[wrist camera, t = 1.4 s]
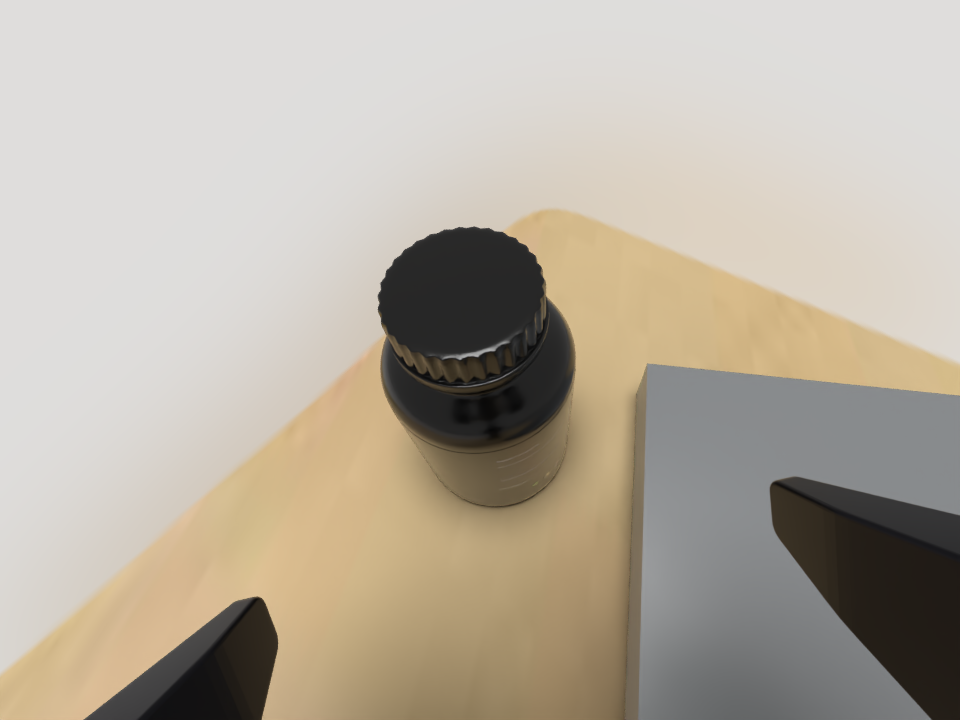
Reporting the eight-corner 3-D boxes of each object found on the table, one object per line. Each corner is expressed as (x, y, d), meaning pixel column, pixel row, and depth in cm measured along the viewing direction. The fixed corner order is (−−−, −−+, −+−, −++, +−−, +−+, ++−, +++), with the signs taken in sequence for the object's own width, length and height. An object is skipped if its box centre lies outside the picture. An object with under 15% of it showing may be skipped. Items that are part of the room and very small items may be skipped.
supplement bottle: (401, 443, 24) (293, 292, 14) (497, 357, 26) (465, 169, 16) (496, 545, 21) (448, 448, 11) (597, 439, 23) (637, 272, 13)
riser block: (1090, 928, 14) (1216, 993, 11) (621, 795, 16) (635, 823, 14) (940, 429, 21) (993, 399, 19) (636, 393, 24) (647, 363, 21)
